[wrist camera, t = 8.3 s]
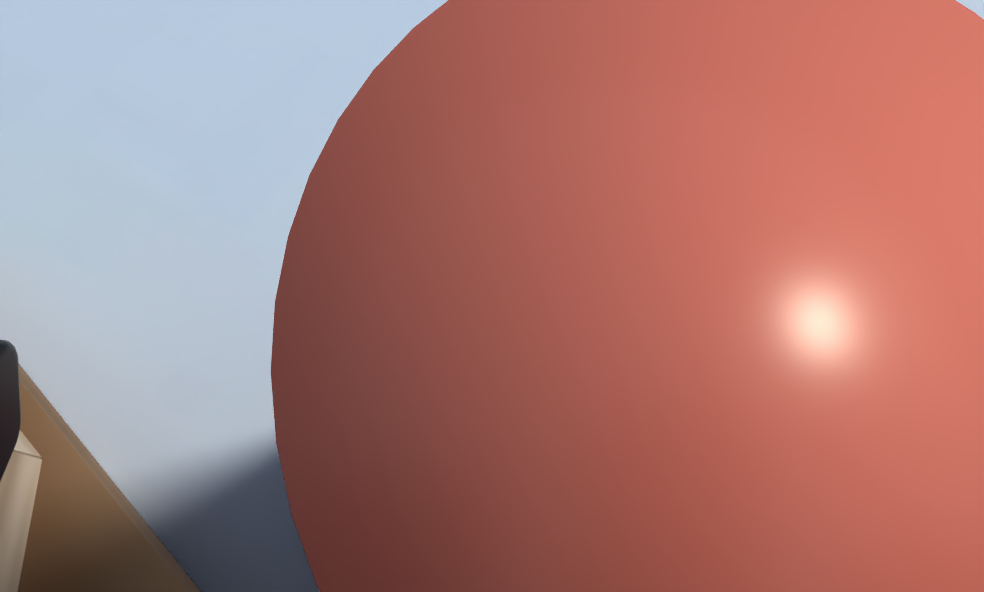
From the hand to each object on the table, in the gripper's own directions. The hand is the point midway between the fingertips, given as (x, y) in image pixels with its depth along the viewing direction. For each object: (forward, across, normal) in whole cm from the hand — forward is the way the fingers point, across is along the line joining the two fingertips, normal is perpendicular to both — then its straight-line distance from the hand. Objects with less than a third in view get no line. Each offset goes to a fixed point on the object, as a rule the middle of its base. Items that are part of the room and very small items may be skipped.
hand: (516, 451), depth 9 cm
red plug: (+6, 0, +6) cm, 9 cm away
